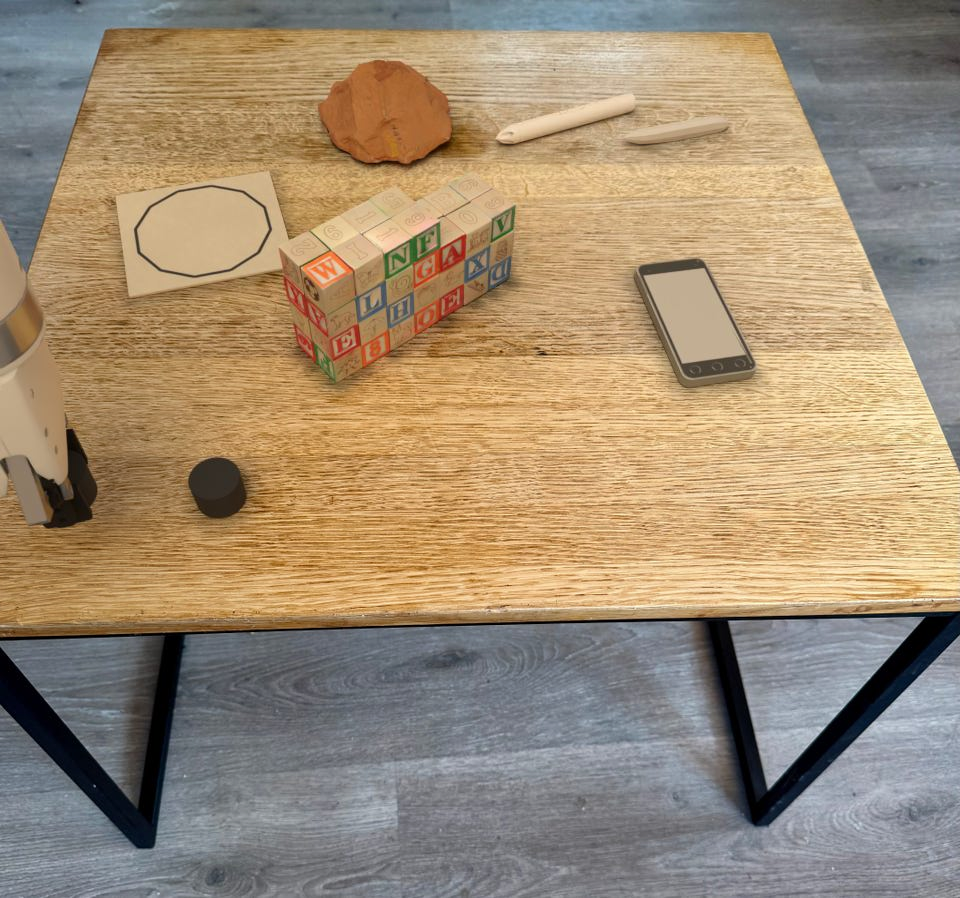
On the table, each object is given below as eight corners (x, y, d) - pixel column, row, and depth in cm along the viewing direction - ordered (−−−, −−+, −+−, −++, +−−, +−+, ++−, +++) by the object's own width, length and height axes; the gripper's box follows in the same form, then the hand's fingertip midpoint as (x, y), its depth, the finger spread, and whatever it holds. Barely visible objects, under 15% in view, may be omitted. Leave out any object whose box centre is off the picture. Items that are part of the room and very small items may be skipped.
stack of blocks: (469, 244, 90) (474, 142, 80) (511, 279, 87) (521, 177, 77) (295, 344, 81) (275, 243, 71) (335, 385, 79) (321, 287, 68)
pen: (617, 143, 100) (620, 130, 99) (725, 123, 103) (729, 111, 102) (623, 151, 99) (625, 139, 98) (731, 131, 103) (735, 118, 101)
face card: (129, 298, 83) (128, 296, 83) (115, 197, 91) (114, 194, 91) (296, 267, 87) (296, 264, 86) (269, 172, 95) (269, 170, 94)
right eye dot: (199, 524, 70) (191, 504, 68) (193, 483, 72) (184, 463, 70) (250, 511, 71) (243, 492, 68) (242, 472, 73) (235, 451, 71)
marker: (499, 152, 98) (500, 134, 96) (490, 141, 99) (491, 123, 97) (634, 114, 103) (638, 96, 102) (625, 104, 105) (628, 86, 103)
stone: (462, 176, 99) (446, 128, 90) (339, 204, 101) (310, 160, 91) (443, 63, 103) (425, 4, 93) (324, 92, 104) (294, 37, 95)
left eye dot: (40, 524, 62) (25, 501, 59) (38, 478, 64) (24, 455, 62) (100, 511, 63) (87, 489, 60) (95, 466, 65) (84, 443, 62)
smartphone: (684, 380, 79) (633, 265, 87) (682, 388, 80) (631, 273, 88) (760, 369, 80) (703, 256, 88) (756, 377, 81) (700, 264, 89)
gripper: (-102, 227, 52) (9, 415, 67) (-119, 450, 43) (15, 609, 58) (33, 209, 54) (112, 396, 69) (44, 419, 45) (133, 582, 60)
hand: (67, 492), depth 63 cm, fingers closed on left eye dot, 4 cm apart
